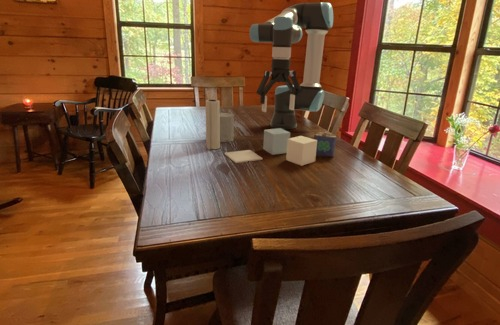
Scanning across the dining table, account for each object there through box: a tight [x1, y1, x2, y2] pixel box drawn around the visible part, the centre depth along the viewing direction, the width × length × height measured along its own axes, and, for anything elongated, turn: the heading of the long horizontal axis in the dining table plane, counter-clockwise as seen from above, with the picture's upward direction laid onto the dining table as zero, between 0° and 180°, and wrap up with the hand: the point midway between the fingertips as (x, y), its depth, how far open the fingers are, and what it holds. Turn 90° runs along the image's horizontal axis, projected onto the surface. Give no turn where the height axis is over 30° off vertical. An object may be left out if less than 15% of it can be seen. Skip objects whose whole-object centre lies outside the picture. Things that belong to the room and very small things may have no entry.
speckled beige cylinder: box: [220, 112, 235, 143], centre depth 159 cm, size 10×10×12 cm
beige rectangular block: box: [285, 135, 317, 167], centre depth 134 cm, size 8×8×9 cm
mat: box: [224, 149, 263, 164], centre depth 138 cm, size 12×12×1 cm
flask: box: [313, 131, 337, 158], centre depth 140 cm, size 9×3×11 cm, turn 74°
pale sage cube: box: [262, 128, 291, 156], centre depth 145 cm, size 8×8×9 cm
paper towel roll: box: [205, 99, 221, 151], centre depth 144 cm, size 7×6×21 cm
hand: (278, 110), depth 140 cm, fingers open, 13 cm apart
